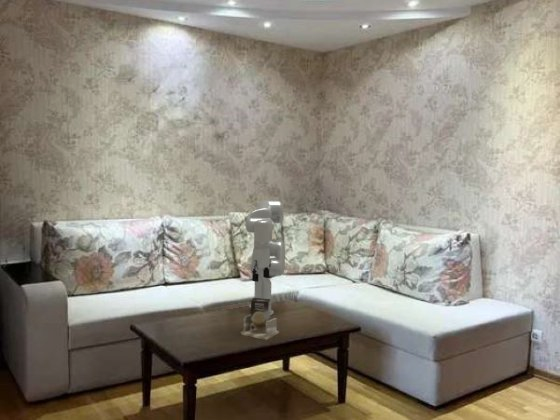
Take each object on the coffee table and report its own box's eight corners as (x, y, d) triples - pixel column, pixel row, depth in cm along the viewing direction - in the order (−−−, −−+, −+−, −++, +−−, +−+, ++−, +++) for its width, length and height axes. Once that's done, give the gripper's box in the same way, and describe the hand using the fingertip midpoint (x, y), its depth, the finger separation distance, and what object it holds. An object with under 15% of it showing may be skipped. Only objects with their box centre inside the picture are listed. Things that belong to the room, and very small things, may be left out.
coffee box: (249, 332, 250) (250, 300, 249) (252, 328, 257) (252, 297, 255) (267, 333, 249) (268, 301, 248) (270, 329, 255) (270, 298, 254)
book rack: (240, 334, 251) (240, 318, 251) (254, 327, 262) (254, 312, 261) (266, 340, 244) (266, 323, 243) (279, 333, 254) (279, 317, 253)
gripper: (264, 242, 258) (264, 275, 260) (245, 246, 243) (244, 281, 245) (277, 243, 254) (276, 277, 256) (258, 248, 239) (257, 284, 241)
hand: (260, 279), depth 250 cm, fingers open, 9 cm apart
